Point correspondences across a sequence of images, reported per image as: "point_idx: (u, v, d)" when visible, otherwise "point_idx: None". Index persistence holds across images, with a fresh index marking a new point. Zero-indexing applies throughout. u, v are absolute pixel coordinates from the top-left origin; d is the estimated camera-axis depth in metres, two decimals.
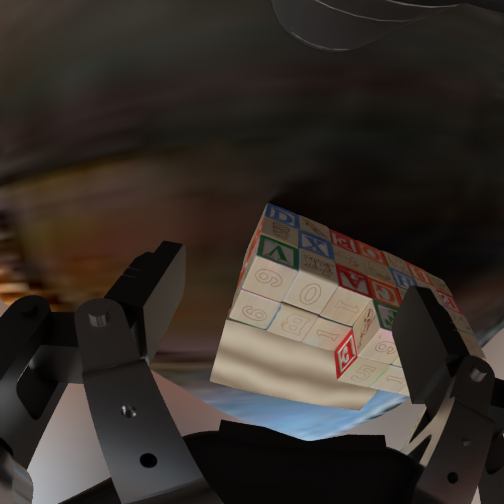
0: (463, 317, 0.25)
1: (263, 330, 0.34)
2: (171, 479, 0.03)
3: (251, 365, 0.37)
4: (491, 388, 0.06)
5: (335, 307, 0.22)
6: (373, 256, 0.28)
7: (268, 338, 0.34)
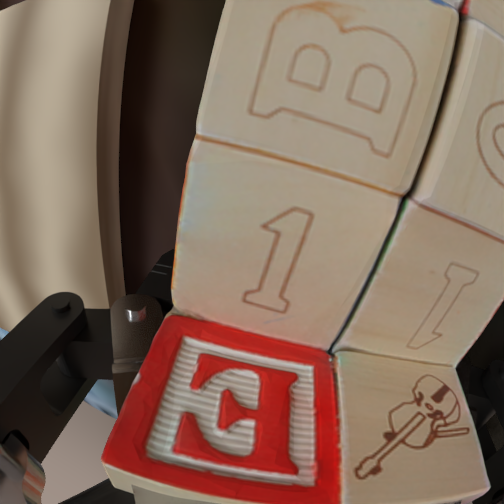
0: None
1: (97, 64, 0.10)
2: None
3: (2, 83, 0.10)
4: (466, 375, 0.06)
5: (447, 265, 0.04)
6: None
7: (77, 85, 0.10)
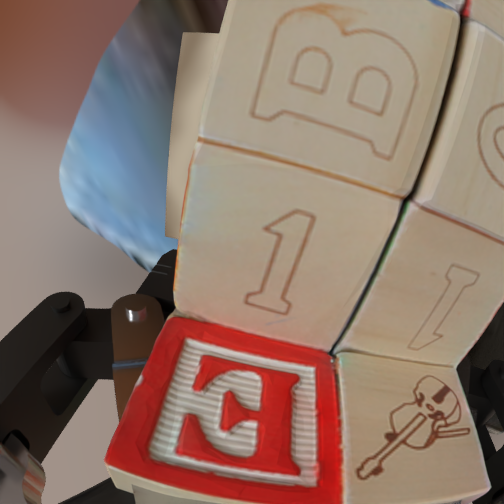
0: None
1: None
2: None
3: None
4: (465, 375, 0.06)
5: (448, 266, 0.04)
6: None
7: None
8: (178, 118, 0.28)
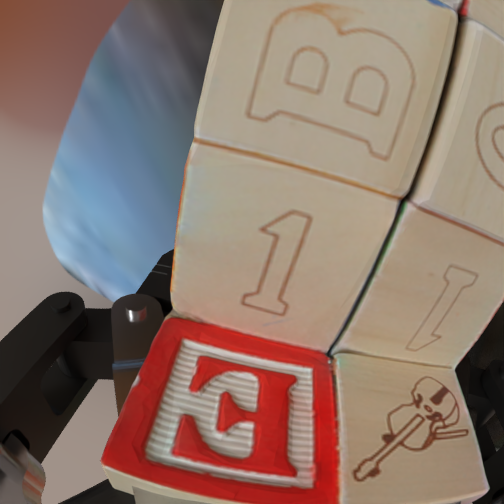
0: None
1: None
2: None
3: None
4: (466, 375, 0.06)
5: (446, 267, 0.04)
6: None
7: None
8: None
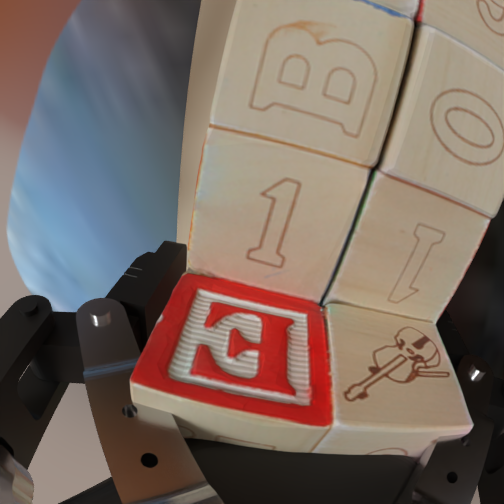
0: None
1: None
2: (171, 479, 0.03)
3: None
4: (490, 387, 0.06)
5: (415, 225, 0.06)
6: None
7: None
8: (194, 165, 0.15)
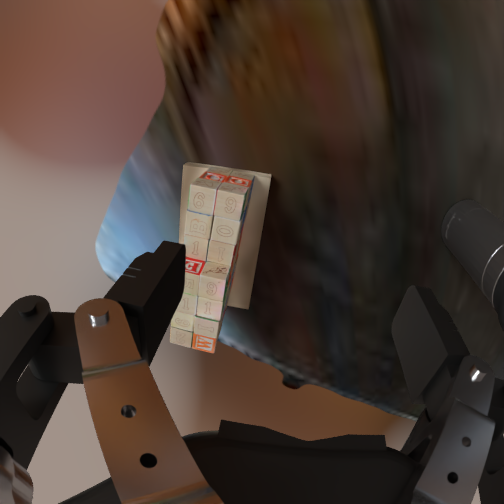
0: (221, 325, 0.46)
1: (264, 206, 0.43)
2: (171, 479, 0.03)
3: None
4: (491, 388, 0.06)
5: (218, 247, 0.37)
6: (237, 251, 0.45)
7: (256, 211, 0.44)
8: (184, 224, 0.46)
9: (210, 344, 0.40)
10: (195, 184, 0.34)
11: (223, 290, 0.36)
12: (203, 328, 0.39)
